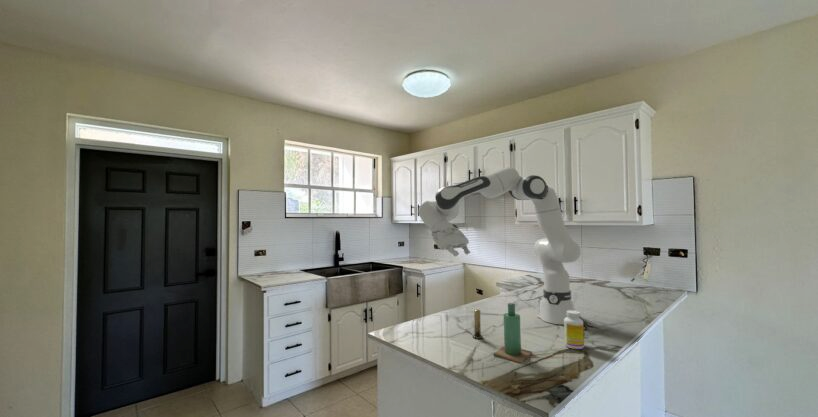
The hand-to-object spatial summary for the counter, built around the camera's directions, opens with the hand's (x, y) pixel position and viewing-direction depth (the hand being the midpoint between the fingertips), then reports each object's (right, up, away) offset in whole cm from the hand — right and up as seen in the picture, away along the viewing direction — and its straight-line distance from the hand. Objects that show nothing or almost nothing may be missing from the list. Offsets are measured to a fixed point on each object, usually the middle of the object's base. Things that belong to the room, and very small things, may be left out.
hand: (462, 254), depth 140 cm
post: (+5, -33, -5) cm, 34 cm away
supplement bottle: (+40, -33, -15) cm, 54 cm away
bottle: (+14, -32, -23) cm, 41 cm away
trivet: (+14, -32, -23) cm, 42 cm away
